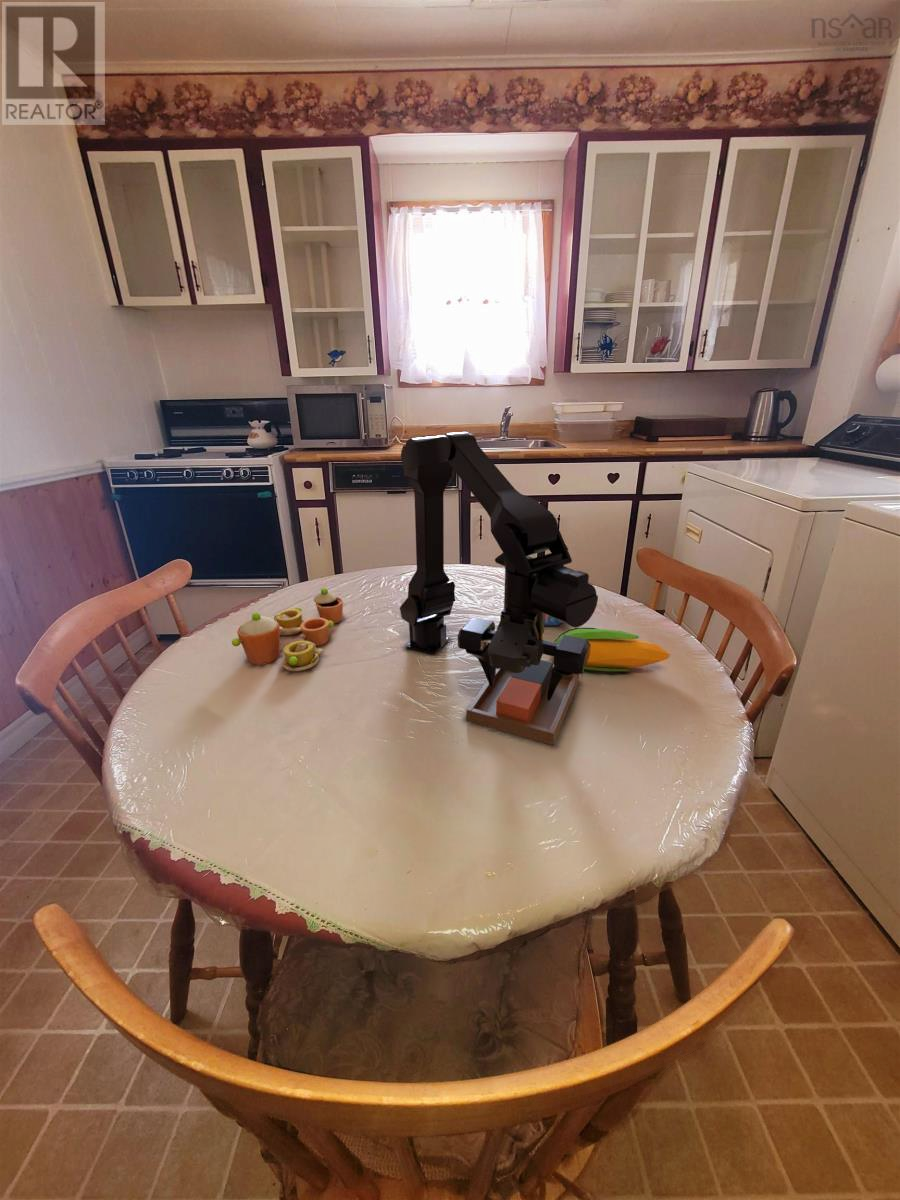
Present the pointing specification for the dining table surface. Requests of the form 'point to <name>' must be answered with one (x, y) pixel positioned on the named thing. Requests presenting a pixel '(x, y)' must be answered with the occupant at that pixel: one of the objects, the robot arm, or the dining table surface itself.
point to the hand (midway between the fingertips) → (520, 691)
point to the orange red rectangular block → (519, 700)
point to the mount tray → (544, 718)
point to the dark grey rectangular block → (537, 674)
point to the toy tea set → (265, 634)
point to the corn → (616, 649)
